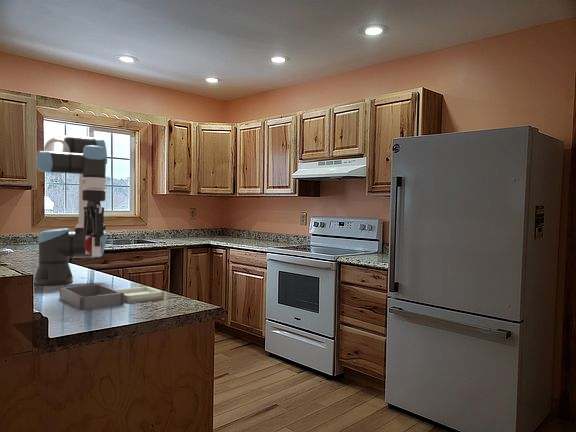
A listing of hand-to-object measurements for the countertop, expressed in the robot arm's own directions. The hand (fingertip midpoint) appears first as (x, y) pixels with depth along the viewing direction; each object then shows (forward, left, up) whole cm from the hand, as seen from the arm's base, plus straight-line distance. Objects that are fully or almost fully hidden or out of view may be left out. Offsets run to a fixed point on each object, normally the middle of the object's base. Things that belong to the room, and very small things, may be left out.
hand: (92, 254), depth 159 cm
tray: (+3, +16, -17) cm, 23 cm away
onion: (0, 0, -1) cm, 1 cm away
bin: (0, 0, -17) cm, 17 cm away
